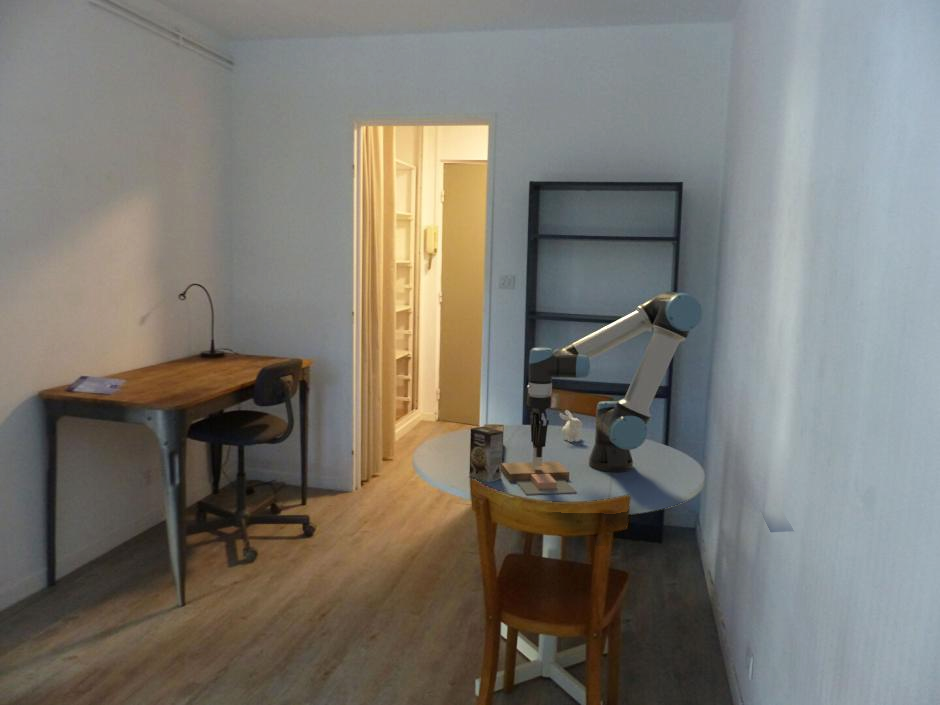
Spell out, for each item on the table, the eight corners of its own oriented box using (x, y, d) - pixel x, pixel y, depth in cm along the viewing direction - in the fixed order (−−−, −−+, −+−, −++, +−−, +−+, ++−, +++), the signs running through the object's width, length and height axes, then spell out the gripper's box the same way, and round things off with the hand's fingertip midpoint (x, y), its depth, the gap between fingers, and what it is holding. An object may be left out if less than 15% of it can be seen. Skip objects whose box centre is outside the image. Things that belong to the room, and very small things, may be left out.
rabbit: (582, 443, 275) (584, 413, 274) (558, 442, 276) (560, 413, 274) (579, 436, 287) (580, 407, 286) (556, 435, 288) (557, 406, 286)
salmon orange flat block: (530, 480, 225) (530, 474, 224) (548, 479, 226) (548, 473, 226) (537, 489, 216) (538, 482, 216) (556, 488, 217) (556, 482, 217)
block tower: (501, 467, 243) (504, 443, 272) (502, 444, 242) (504, 422, 271) (478, 466, 244) (483, 442, 273) (479, 443, 243) (484, 422, 271)
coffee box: (468, 476, 228) (469, 428, 226) (482, 472, 233) (483, 425, 231) (488, 483, 222) (489, 433, 220) (502, 479, 226) (503, 430, 224)
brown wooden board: (557, 469, 239) (558, 461, 239) (569, 479, 227) (569, 472, 227) (501, 470, 236) (501, 463, 235) (509, 481, 224) (509, 473, 224)
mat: (563, 480, 227) (563, 479, 227) (576, 493, 214) (576, 492, 214) (515, 481, 224) (516, 480, 224) (526, 495, 211) (526, 493, 211)
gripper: (523, 391, 232) (520, 460, 235) (534, 399, 219) (532, 472, 222) (544, 391, 233) (542, 459, 236) (557, 398, 221) (554, 471, 224)
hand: (537, 465), depth 229 cm, fingers closed
